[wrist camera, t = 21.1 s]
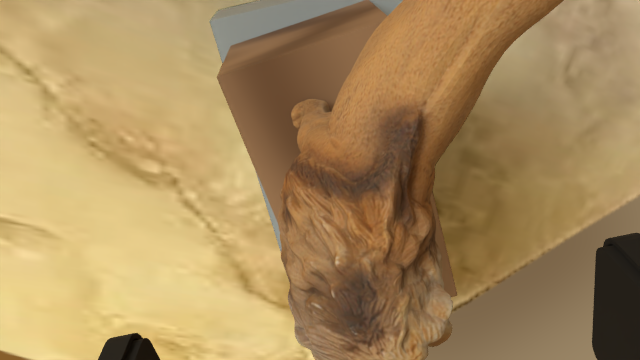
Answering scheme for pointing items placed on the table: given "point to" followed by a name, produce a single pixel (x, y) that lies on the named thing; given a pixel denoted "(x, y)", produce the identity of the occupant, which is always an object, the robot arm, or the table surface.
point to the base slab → (270, 15)
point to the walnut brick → (297, 90)
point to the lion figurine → (386, 179)
